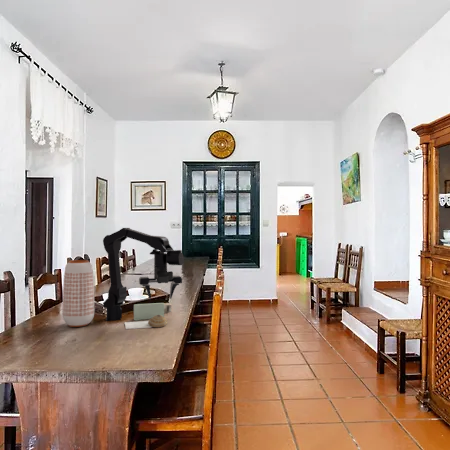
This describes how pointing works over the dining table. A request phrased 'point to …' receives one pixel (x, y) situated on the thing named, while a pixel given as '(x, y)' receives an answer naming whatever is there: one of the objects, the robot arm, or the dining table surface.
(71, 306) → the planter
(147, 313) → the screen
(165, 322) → the seashell
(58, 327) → the dining table surface
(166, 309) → the small beige block
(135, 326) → the tile
